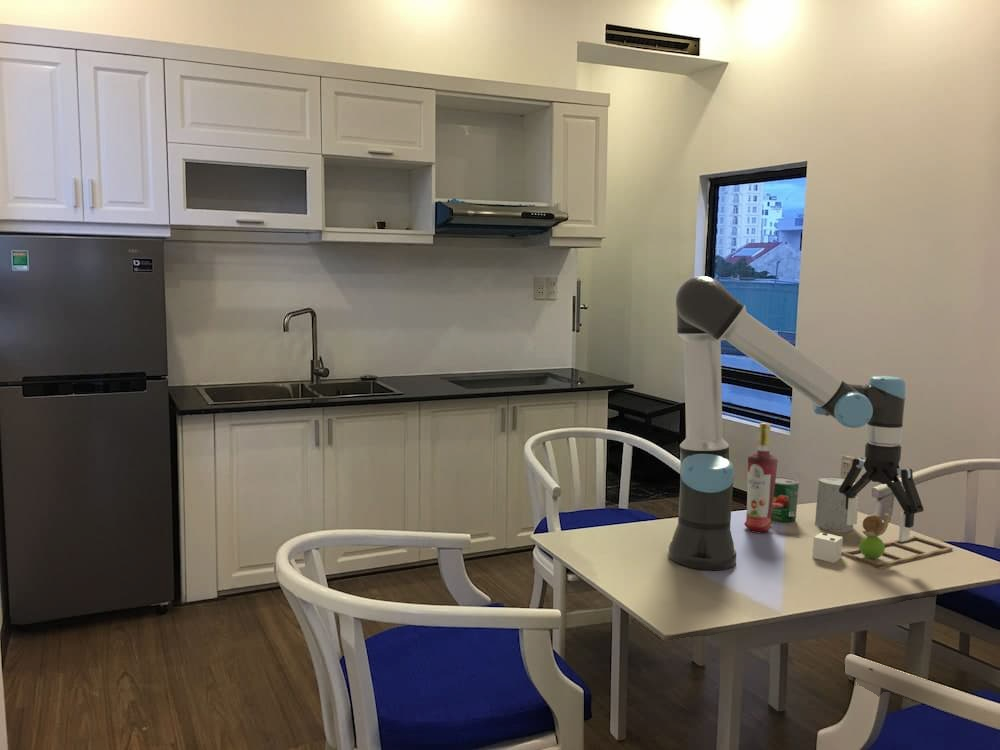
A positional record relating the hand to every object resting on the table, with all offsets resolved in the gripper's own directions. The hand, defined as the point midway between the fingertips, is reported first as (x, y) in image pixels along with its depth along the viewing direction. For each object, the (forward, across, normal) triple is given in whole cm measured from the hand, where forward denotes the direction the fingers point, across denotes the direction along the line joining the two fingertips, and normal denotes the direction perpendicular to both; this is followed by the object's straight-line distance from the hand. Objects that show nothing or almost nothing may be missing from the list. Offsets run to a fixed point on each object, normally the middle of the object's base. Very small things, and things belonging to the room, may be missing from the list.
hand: (877, 532), depth 189 cm
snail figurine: (+7, 0, 0) cm, 7 cm away
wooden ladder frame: (+7, 0, -9) cm, 11 cm away
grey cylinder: (+7, +21, -13) cm, 26 cm away
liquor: (+6, +27, +9) cm, 29 cm away
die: (+6, +5, +10) cm, 13 cm away
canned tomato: (+6, +31, -4) cm, 32 cm away
